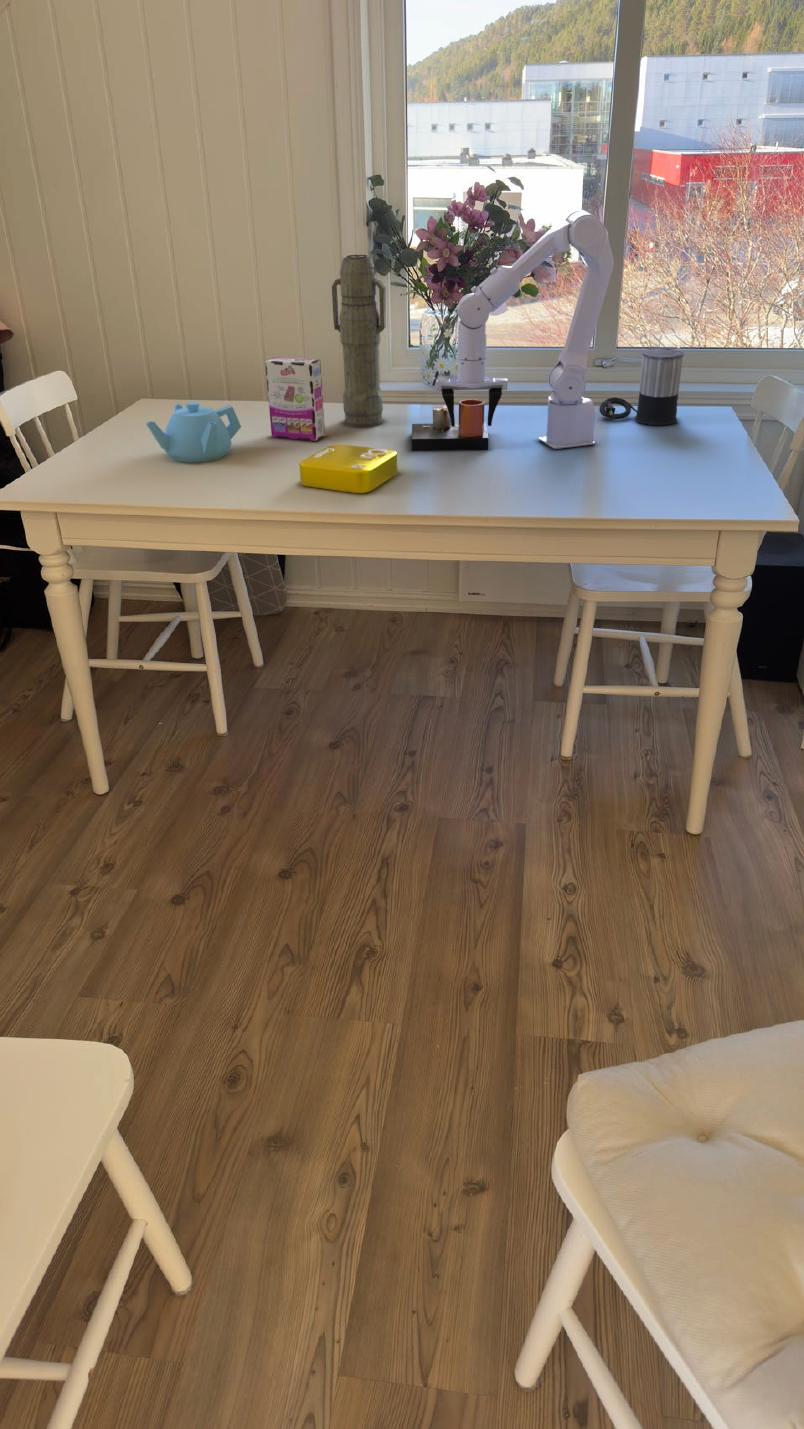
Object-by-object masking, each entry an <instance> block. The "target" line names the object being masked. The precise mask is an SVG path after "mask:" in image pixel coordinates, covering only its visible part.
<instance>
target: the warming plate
mask: <svg viewBox="0 0 804 1429" xmlns="http://www.w3.org/2000/svg"><path fill="white" fill-rule="evenodd" d="M487 428H488V427H487V424H486V422H484V434H483V435H481V436H477V437H465V436H461V435H459V422H455V427H451V428H448V429H436V428H433V423H412V424H411V451H412V452H423V451H424V452H425V451H426V452H428V451H429V452H431V451H432V452H433V451H434V452H435V451H488V450H489V434H488V429H487Z"/></svg>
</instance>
